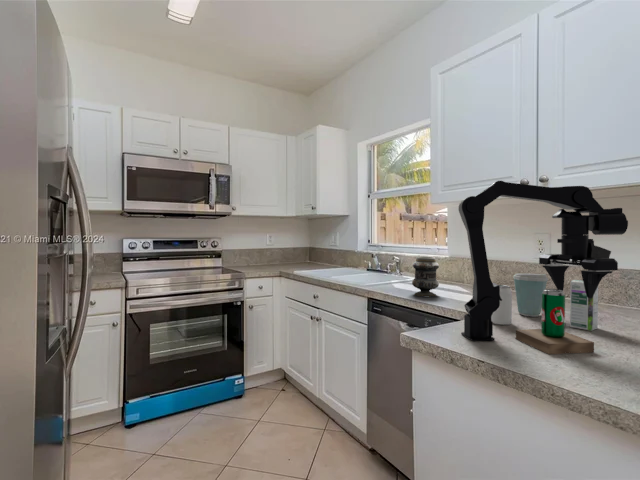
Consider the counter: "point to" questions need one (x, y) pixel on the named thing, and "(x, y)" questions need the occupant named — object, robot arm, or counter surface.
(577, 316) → the syrup box
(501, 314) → the can
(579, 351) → the walnut base
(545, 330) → the soda can
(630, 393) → the counter surface
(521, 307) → the disposable coffee cup
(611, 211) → the robot arm
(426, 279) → the apothecary jar
